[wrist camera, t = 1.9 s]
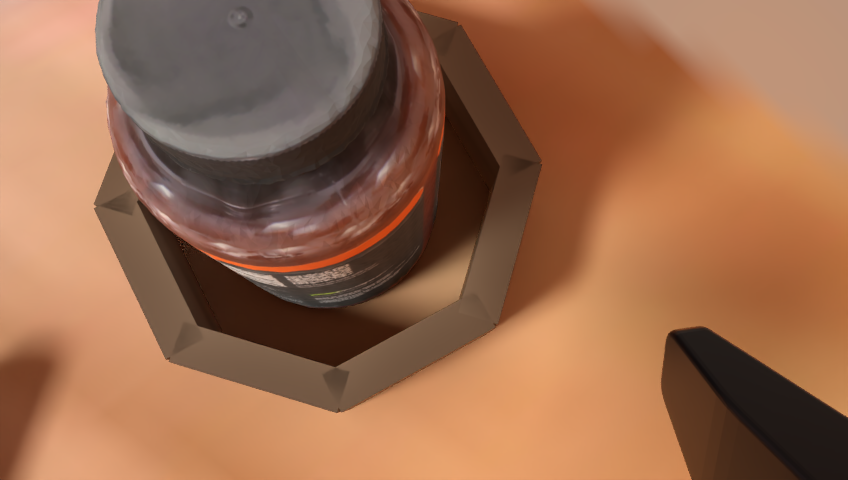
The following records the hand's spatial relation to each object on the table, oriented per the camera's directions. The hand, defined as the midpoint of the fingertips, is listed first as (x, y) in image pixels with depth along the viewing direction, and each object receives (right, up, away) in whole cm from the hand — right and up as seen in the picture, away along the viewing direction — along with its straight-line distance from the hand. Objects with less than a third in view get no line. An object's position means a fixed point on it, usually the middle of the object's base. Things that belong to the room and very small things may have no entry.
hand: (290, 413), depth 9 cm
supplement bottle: (-1, +3, +13) cm, 13 cm away
